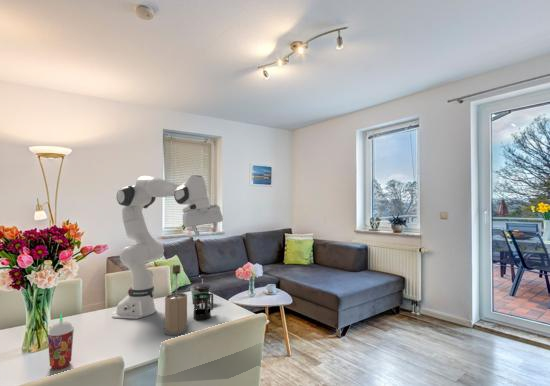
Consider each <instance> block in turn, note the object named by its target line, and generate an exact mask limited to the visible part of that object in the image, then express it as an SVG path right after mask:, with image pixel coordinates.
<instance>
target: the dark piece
mask: <svg viewBox="0 0 550 386" xmlns="http://www.w3.org/2000/svg"><path fill="white" fill-rule="evenodd" d="M189 290H190V292H191V299H192V304H193V305H194V295H195V294H199V293H201V292H199V291H198V290H195V288H194V286H192V285H191V286H190V289H189ZM203 293H209V294H210V291H208V292H203ZM206 297H208V296H206V295H203V298H206ZM196 298H197V297H196ZM200 298H202V295H201V296H200ZM200 303H202V301H200ZM203 303H205V300H203ZM196 304H197V300H196Z"/></svg>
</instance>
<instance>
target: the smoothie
mask: <svg viewBox="0 0 550 386" xmlns="http://www.w3.org/2000/svg"><path fill="white" fill-rule="evenodd" d="M59 317H60V318H59V320H58V321H56V322H54V323H53V324H52V326H50V328H49V330H48V332H47V342H48V343H47V344H48V356H49V358H48V359H49V366H50V367H51V369H52V370H61V368H62V369H64V368H67V367H69V365H70V362H71V361H72V355H73V343H74V342H73V341H74V340H73V339H74V329H75V328H74V326H73V325H72V323H71V322H70V321H69V320H65V319H63V313H60V314H59Z"/></svg>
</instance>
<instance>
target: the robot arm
mask: <svg viewBox="0 0 550 386" xmlns="http://www.w3.org/2000/svg"><path fill="white" fill-rule="evenodd" d="M185 180H186V181H184V182H183V183H182V184H177V183H174V182H172V181H171V182H170V181H168V180H165V179H163V178H159V177H157V176H153V175H142V176H140V177H138V178H137V180H136V181H135V184H134V185H131V184H130V185H126V186H125V187H122V188H120V189H119V190H118V192H117V193H116V201H117V204H119V205H120V206H122V209H121V215H122V222H123V226H124V230H125V234H126V236H127V238H128V239H130V240H132V241H133V242H135V243H136V244H131V245H128V246H126V247H123V248H122V249H121V251H120V252H119V260H120V262H121V263H122V265H125V266H126V267H127V269H128V270H129V271H130V275H131V287H129V289H128V291H127V294H128V295H126V296H125V297H124V298H123V299H121V300H120V301H119V302H118V304H117V306H116V310H114V311H113V312H112V313H111V318H113V319H132V320H133V319H140V318H143V317H147V316H151V315H152V314H154V313H156V312H157V309H156V305H155V300H154V296H155V286H154V273H153V271H152V270H150V269H148V268H147V266H146V263H150V262H154V261H157V260H160V259H161V258H162V257H163V256H164V252H165V249H164V245H163V244H162V243H161V242H160V241H157V240H156V239H154V237H153V236H152V235H151V234H150V232H149V230H148V228H147V225H146V222H145V218H144V215H143V209H148V208H149V206H151V205H153V204H154V203H155V202H156V199H157V198H167V197H168V198H169V197H174V200H175V202H176V203H177V204H179V205H186V206H185V207H183V208H182V213H183V214H182V224H183V227H185V228H191V230H192V231H193V232H194V235H195V236H199V235H200V230H197V227H199V226H204V225H210V224H212V226H213V228H212V229H211V230H212V233H216V232H217V227H218V223H221V222H223V219H224V218H223V217H224V216H223V214H222V211H221V207H220V206H219V205H217V204H210V199H209V196H208V189H207V184H206V181H205V179H204V177H203V176H202V175H197V174H196V175H195V174H194V175H188V176H187V178H186V179H185Z"/></svg>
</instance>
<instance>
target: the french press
mask: <svg viewBox="0 0 550 386" xmlns="http://www.w3.org/2000/svg"><path fill="white" fill-rule="evenodd" d="M204 277H207V274H200V275H198V278H201V283H200V284H196V285H194V286H193V287H194V288H195V290H198V291H199V292H201V293H199V294H195V295H194V304H193V318H192V319H193V320H194V321H196V322H203V321H204V322H205V321H207V320H210V319H211V318H212V315H211V314H212V313H211V312H212V311H213V310H214V293H212V292H210V291H211V285H210V284H208V283H207V284H206V283H205V284H204V282H203V281H204ZM208 291H209V293H203V292H208ZM201 295H202V298H200V296H201ZM203 295H206V296H208V297H206V298H203ZM196 297H197V298H196ZM196 300H197V304H196ZM203 300H205V303H203ZM200 301H202V303H200Z"/></svg>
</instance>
